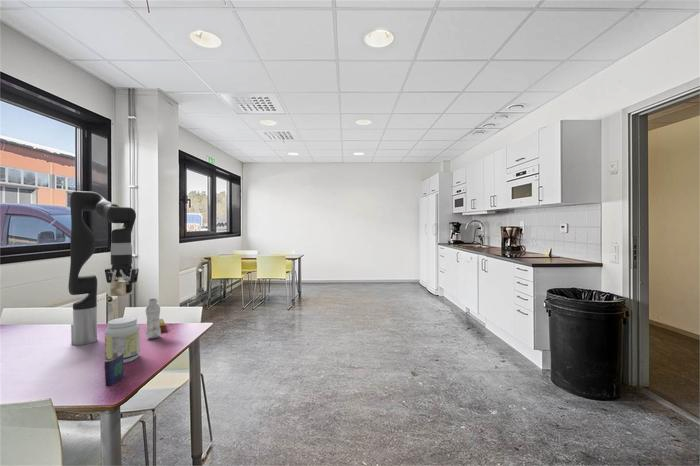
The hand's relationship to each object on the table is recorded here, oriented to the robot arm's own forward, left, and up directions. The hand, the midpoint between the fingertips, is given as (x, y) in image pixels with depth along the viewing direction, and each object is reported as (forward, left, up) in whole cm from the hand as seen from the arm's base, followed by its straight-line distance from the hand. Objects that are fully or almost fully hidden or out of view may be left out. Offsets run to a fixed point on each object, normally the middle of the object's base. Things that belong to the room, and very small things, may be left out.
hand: (122, 292), depth 138 cm
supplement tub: (0, 0, -29) cm, 29 cm away
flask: (+13, -19, -29) cm, 37 cm away
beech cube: (0, 0, -1) cm, 1 cm away
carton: (-15, +41, -29) cm, 53 cm away
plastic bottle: (-6, +27, -29) cm, 40 cm away
